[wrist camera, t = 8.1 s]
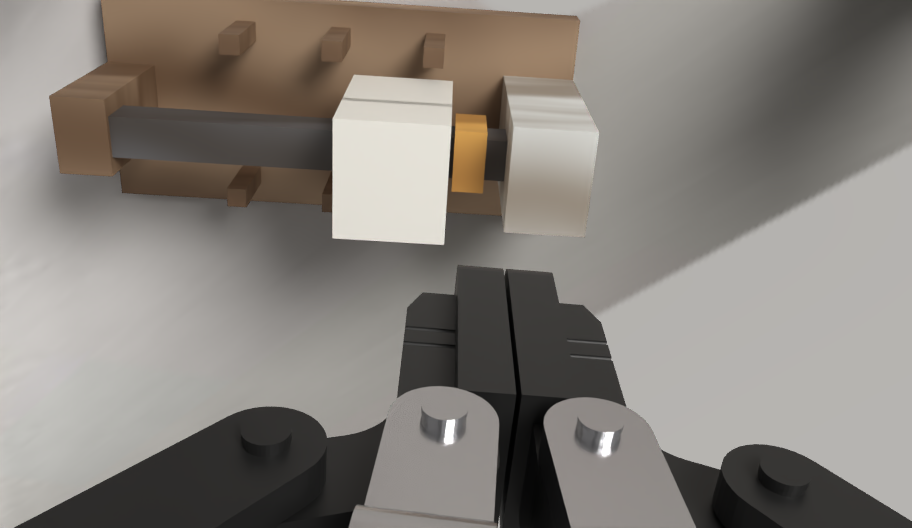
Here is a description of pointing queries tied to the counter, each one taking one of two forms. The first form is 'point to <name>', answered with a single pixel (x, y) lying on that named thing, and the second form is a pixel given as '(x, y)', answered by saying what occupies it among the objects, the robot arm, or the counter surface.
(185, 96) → the brown peg stand
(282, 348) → the counter surface
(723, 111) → the counter surface
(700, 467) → the robot arm
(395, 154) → the grooved cream cube
